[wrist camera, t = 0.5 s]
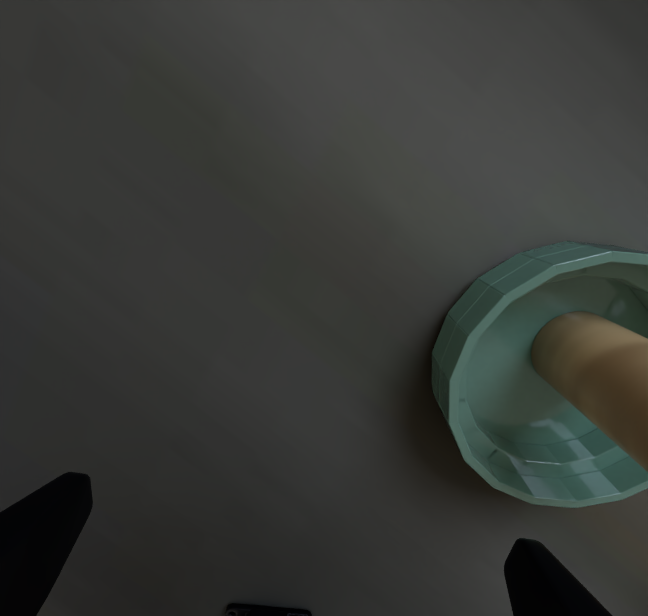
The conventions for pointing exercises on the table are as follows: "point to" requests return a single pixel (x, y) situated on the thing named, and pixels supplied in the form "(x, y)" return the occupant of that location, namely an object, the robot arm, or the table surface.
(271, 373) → the table surface
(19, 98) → the table surface
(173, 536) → the table surface
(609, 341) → the pepper mill
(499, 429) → the bowl
